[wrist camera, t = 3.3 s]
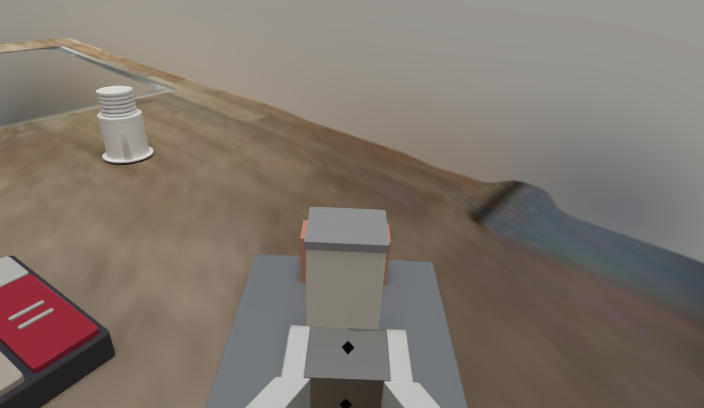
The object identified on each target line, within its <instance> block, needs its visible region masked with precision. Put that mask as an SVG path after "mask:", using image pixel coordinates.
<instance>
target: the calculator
mask: <svg viewBox="0 0 704 408" xmlns="http://www.w3.org/2000/svg"><path fill="white" fill-rule="evenodd" d="M114 355H115V352H114V348H113V344H112V341H111V337H110V334H109V331H108V330H107V329H106V328H105V327H103V326H102V325H101V324H100V323H98V322H97V321H96V320H94V319H93V318H92V317H91V316H89V315H88V314H87V313H86V312H84V311H83V310H82V309H81V308H79V307H78V306H77V305H76V304H74V303H73V302H72V301H70V300H69V299H68V298H67V297H65V296H64V295H63V294H62V293H60V292H59V291H58V290H57V289H55V288H54V287H53V286H51V285H50V284H49V283H48V282H46V281H45V280H44V279H43V278H41V277H40V276H39V275H38V274H36V273H35V272H34V271H33V270H31V269H30V268H29V267H27V266H26V265H25V264H24V263H22V262H21V261H20V260H19V259H17V258H16V257H15V256H6V257H3V258H1V259H0V408H40V407H42V406H43V405H45V404H46V403H47V402H49V401H50V400H52V399H53V398H55V397H56V396H58V395H59V394H60V393H62V392H63V391H65V390H66V389H68V388H69V387H71V386H72V385H73V384H75V383H76V382H78V381H79V380H81V379H82V378H84V377H85V376H86V375H88V374H89V373H91V372H92V371H94V370H95V369H97V368H98V367H99V366H101V365H102V364H104V363H105V362H107V361H108V360H109V359H111V358H112V357H113V356H114Z"/></svg>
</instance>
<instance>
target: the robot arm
mask: <svg viewBox="0 0 704 408" xmlns="http://www.w3.org/2000/svg"><path fill="white" fill-rule="evenodd" d="M245 408H440V406H439V405H438V404H437V403H436V402H435V401H434V399H433V398H432V397H431V396H430V395H429V394H428V393H427V391H426V390H425V389H424V388H423V387H422V386H421V384H420V383H414V382H413V376H412V369H411V362H410V354H409V347H408V339H407V333H406V331H405V330H388V329H386V330H385V329H358V328H348V329H347V328H332V327H317V326H297V325H291V327H290V330H289V335H288V340H287V346H286V352H285V357H284V363H283V369H282V374H281V377H275V378H274V379H273V380H272V381H271V382H270V383H269V384H268V385H267V386H266V387H265V388H264V389H263V390H262V391H261V392H260V393H259V394H258V395H257V396H256V397H255V398H254V399H253V400H252V401H251V402H250V403H249V404H248V405H247V406H246V407H245Z"/></svg>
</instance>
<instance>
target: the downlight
mask: <svg viewBox="0 0 704 408" xmlns="http://www.w3.org/2000/svg"><path fill="white" fill-rule="evenodd" d="M132 91H133V89H132V88H131V87H128V86H111V87H104V88H100V89H98V90H96V93H97V97H98V101H99V105H100V110H101V112H100V113H99V114H97V118H98V122H99V126H100V130H101V134H102V138H103V142H104V146H105V150H106V152H105V153H104V154H103V155H102V158H103V159H104V160H105V161H107V162H111V163H133V162H135V161H139V160H143V159H145V158H148V157H150V156H151V155H152V154H153V152H154V151H153V149H152V148H151V147H149V146H148V142H147V137H146V132H145V127H144V122H143V116H142V111H141V110H139V109H136V104H135V100H134V96H133V92H132Z"/></svg>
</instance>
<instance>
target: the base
mask: <svg viewBox="0 0 704 408" xmlns="http://www.w3.org/2000/svg"><path fill="white" fill-rule="evenodd" d="M307 222H308V220H304V221H303V226H302V231H301V237H300V256H281V255H258V254H256V255H255V258H254V261H253V264H252V267H251V270H250V273H249V276H248V279H247V282H246V285H245V288H244V291H243V294H242V298H241V301H240V304H239V307H238V310H237V313H236V316H235V319H234V322H233V325H232V328H231V331H230V334H229V337H228V341H227V344H226V347H225V350H224V353H223V356H222V359H221V362H220V365H219V368H218V371H217V374H216V377H215V380H214V384H213V387H212V390H211V393H210V396H209V399H208V402H207V405H206V408H245V407H246V406H247V405H248V404H249V403H250V402H251V401H252V400H253V399H254V398H255V397H256V396H257V395H258V394H259V393H260V392H261V391H262V390H263V389H264V388H265V387H266V386H267V385H268V384H269V383H270V382H271V381H272V380H273V379H274V378H275V377H281V374H282V369H283V363H284V357H285V352H286V346H287V340H288V335H289V330H290V327H291V325H297V326H306V250H304V239H305V234H306V228H307ZM387 230H388V239H389V252H388V253H387V254H386V263H385V272H384V281H383V290H382V300H381V309H380V318H379V327H378V329H385V330H386V329H388V330H405V331H406V333H407V339H408V347H409V354H410V362H411V369H412V376H413V382H414V383H420V384H421V386H422V387H423V388H424V389H425V390H426V391H427V393H428V394H429V395H430V396H431V397H432V398H433V399H434V401H435V402H436V403H437V404H438V405H439V406H440V408H467V404H466V400H465V396H464V392H463V387H462V383H461V379H460V375H459V371H458V367H457V362H456V358H455V354H454V350H453V346H452V342H451V338H450V333H449V329H448V325H447V321H446V317H445V313H444V309H443V304H442V300H441V296H440V292H439V288H438V284H437V280H436V275H435V271H434V267H433V263H432V262H416V261H394V260H389V253H390V244H391V241H390V233H389V224H387Z"/></svg>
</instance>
